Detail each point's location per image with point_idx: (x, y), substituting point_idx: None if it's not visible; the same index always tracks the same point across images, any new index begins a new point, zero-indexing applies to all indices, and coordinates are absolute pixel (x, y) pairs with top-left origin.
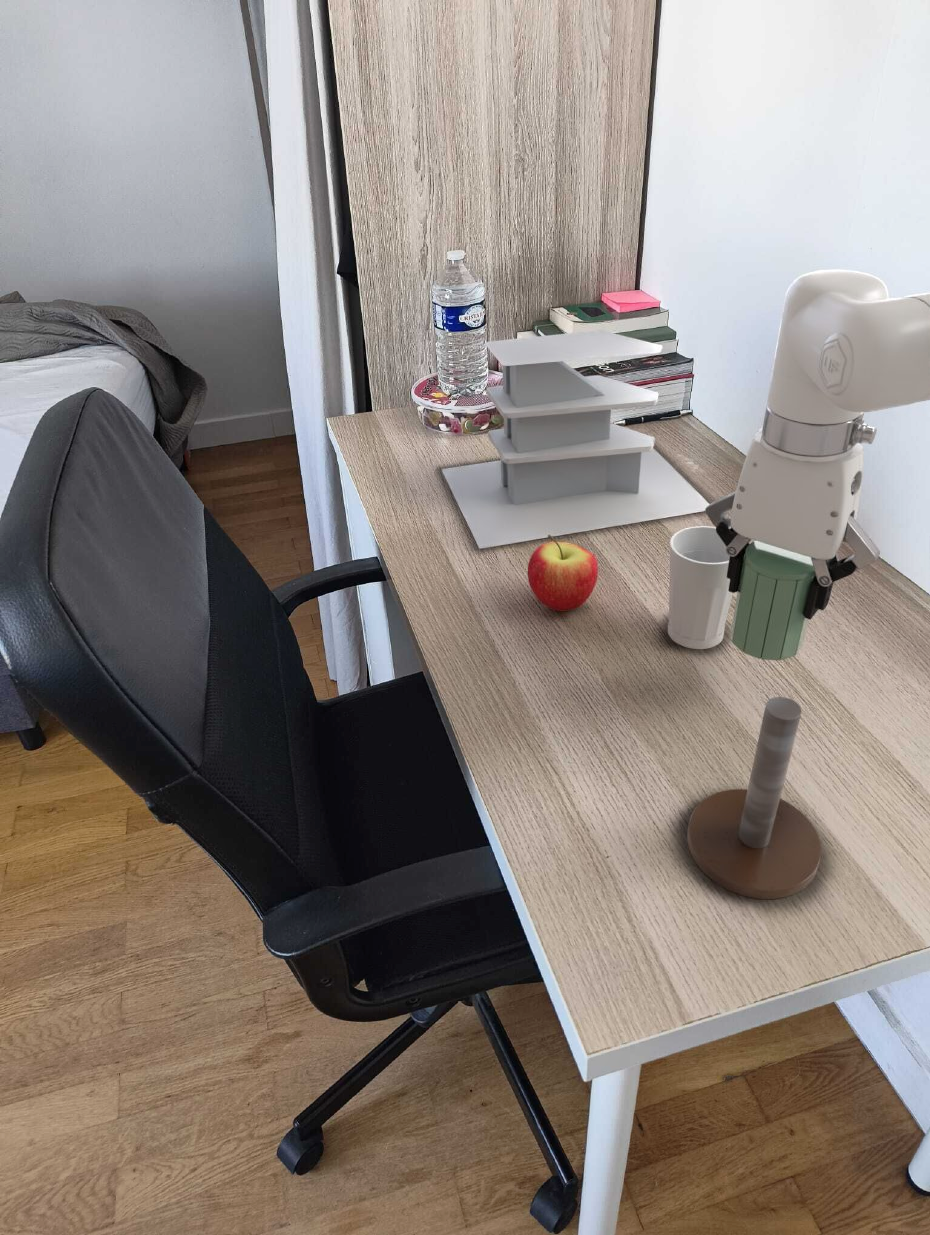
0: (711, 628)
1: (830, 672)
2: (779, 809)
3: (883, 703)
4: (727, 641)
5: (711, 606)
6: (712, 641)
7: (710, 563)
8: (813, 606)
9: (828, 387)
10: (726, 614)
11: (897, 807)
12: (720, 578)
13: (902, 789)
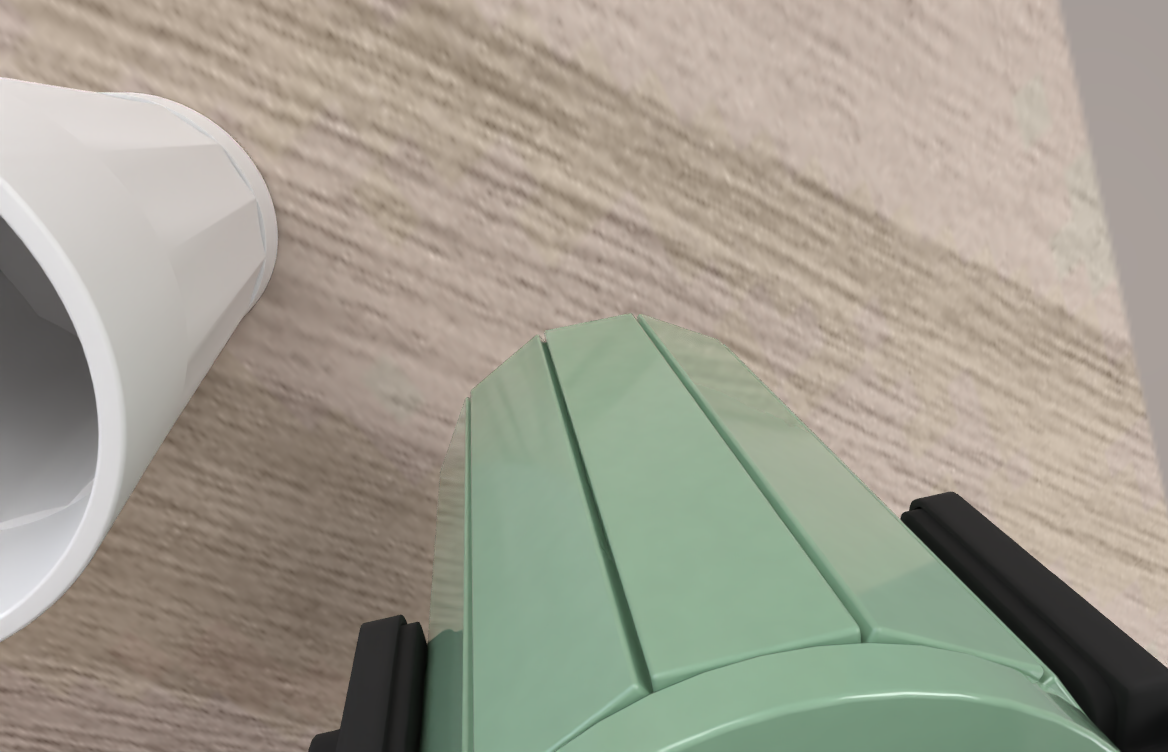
0: (242, 303)
1: (715, 40)
2: None
3: (942, 71)
4: (288, 173)
5: (199, 379)
6: (268, 270)
7: (39, 603)
8: None
9: None
10: (234, 222)
11: (1100, 466)
12: (150, 458)
13: (1096, 400)
